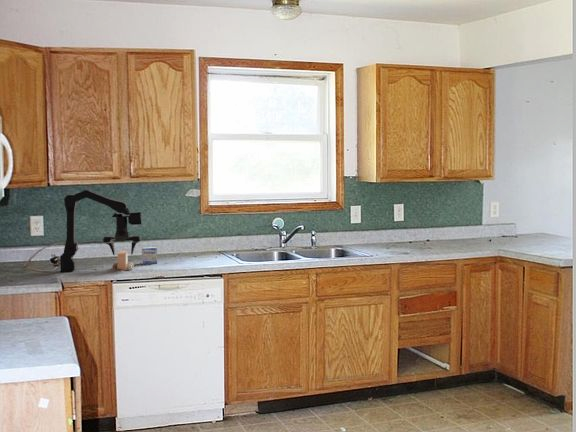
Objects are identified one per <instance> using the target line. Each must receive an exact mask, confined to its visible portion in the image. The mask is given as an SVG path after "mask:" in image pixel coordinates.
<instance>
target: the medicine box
mask: <svg viewBox="0 0 576 432" xmlns="http://www.w3.org/2000/svg"><path fill="white" fill-rule="evenodd" d="M141 263H142V265H154V264H158V248H157V246H152V247H150V246H149V247H141Z"/></svg>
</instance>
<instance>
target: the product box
mask: <svg viewBox="0 0 576 432" xmlns="http://www.w3.org/2000/svg"><path fill="white" fill-rule="evenodd" d="M117 262H118V269H126V268H127V266H128V265H129V264H128V262H129V261H128V251H126V250H125V251H119V252H118V253H117Z"/></svg>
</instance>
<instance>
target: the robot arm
mask: <svg viewBox="0 0 576 432" xmlns="http://www.w3.org/2000/svg"><path fill="white" fill-rule="evenodd" d="M86 198H87V199H90V200H92V201H94V202H97V203H100V204H102V205H104V206H107V207H109V208H111V209H112V210H113V211H115V212H114V213H113V214H112V216H111V217H112V218H115V227H116V229H115V234H114V236H113V235H105V236H104V237H102V238H103V239H102V242H103V243H105V244H106V245H107V246H109V249H110V250H111V252H112V254H113V256H115V255H116V254H115V252H116V251H115V243H114V242H117V243H118V242H125V241H132V242H131V249H130V250H131V253H130V254H131V256H133V253H134V251H135V246H136V245H137V244H138V243H140V242H141V241H142V236H141V235H140V234H133V235H132V236H130V233H129V231H128V230H129V229H128V224H129V225H130V226H138V225H139V226H142V225H143V224H142V223H143V217H142V211H136V212H133V211H132V212H131V210H130V209H129V207H128V205H127V203H126V202H125V201H123V200H119V199H112V198H109V197H106V196H104V195H102V194H99V193H97V192H95V191H91V190H90V189H87V188H86V189H84V190H82V191H79V192H78V193H75V194H74V193H69V194H67V195H66V196H65V197H64V198H63V201H64V207H65V211H66V241H65V244H64V249H63V253H62V254H61V255H60V256H59V259H60V260H59V262H60V263H59V265H60V269H59V272H60V273H71V272H74V271H75V270H76V261H75V259H74V256H75V255H76V254H77V252H78V251H79V241H76V238H75V235H76V231H75V230H76V229H75V228H76V225H75V224H76V223H75V222H76V221H75V220H76V209H77V205H78V202H79V201H81V200H83V199H86ZM123 214H124V215H123Z"/></svg>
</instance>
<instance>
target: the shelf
mask: <svg viewBox="0 0 576 432" xmlns="http://www.w3.org/2000/svg"><path fill="white" fill-rule="evenodd" d="M134 267H135V265H134V261H131V262H130V263H129V264H128V266H127V268H126V269H118V261H116V262H115V263H114V264H113V265H112V269H111V272H120V271H121V272H122V271H123V270H131V269H132V268H133V269H134ZM133 269H132V270H133ZM132 270H131V271H132ZM123 272H124V271H123Z"/></svg>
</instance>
